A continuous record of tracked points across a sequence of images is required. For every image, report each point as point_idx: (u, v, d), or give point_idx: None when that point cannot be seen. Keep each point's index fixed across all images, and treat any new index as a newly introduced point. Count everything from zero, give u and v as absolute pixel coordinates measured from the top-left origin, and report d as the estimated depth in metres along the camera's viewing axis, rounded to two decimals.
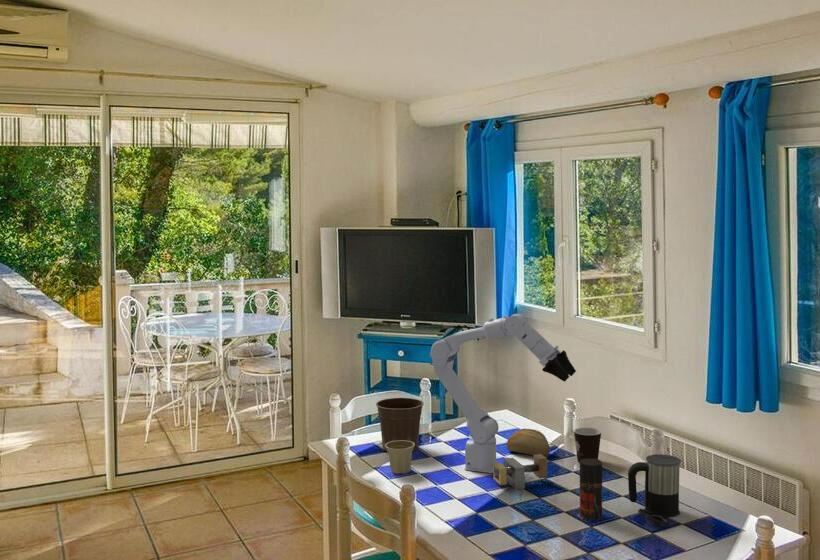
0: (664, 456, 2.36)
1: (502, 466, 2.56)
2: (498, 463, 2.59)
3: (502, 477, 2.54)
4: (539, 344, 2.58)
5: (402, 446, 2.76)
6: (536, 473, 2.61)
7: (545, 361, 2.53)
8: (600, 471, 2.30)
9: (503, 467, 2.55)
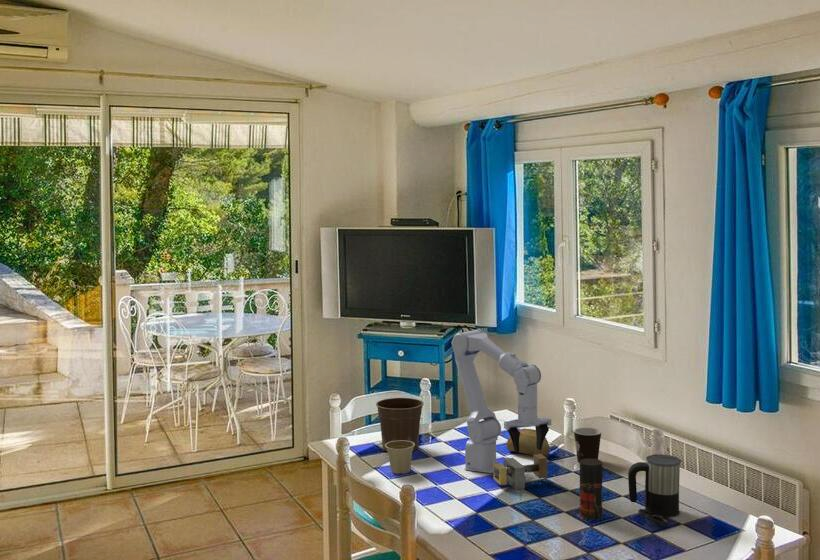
0: (664, 456, 2.36)
1: (502, 466, 2.56)
2: (498, 463, 2.59)
3: (502, 477, 2.54)
4: (521, 410, 2.55)
5: (402, 446, 2.76)
6: (536, 473, 2.61)
7: (505, 427, 2.56)
8: (600, 471, 2.30)
9: (503, 467, 2.55)
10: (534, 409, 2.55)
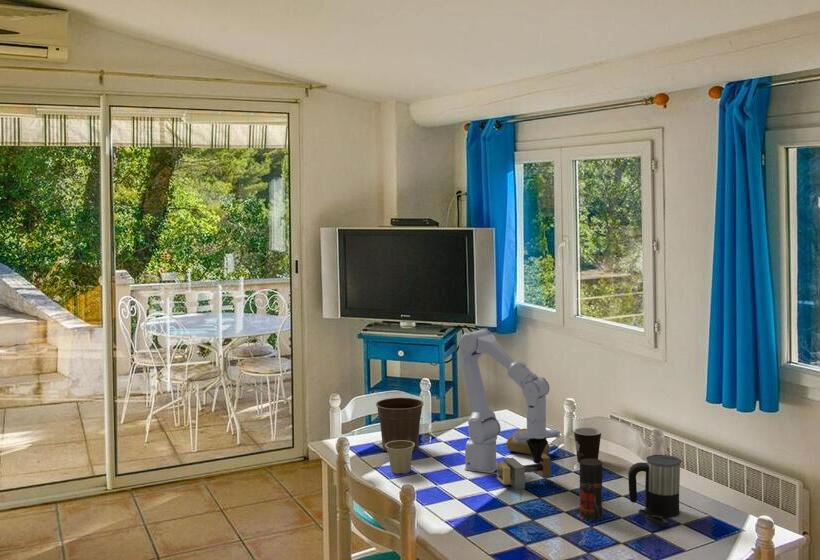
0: (664, 456, 2.36)
1: (506, 466, 2.56)
2: (502, 463, 2.59)
3: (506, 477, 2.55)
4: (530, 422, 2.57)
5: (402, 446, 2.76)
6: (539, 473, 2.61)
7: (514, 440, 2.57)
8: (600, 471, 2.30)
9: (507, 467, 2.55)
10: (543, 422, 2.56)
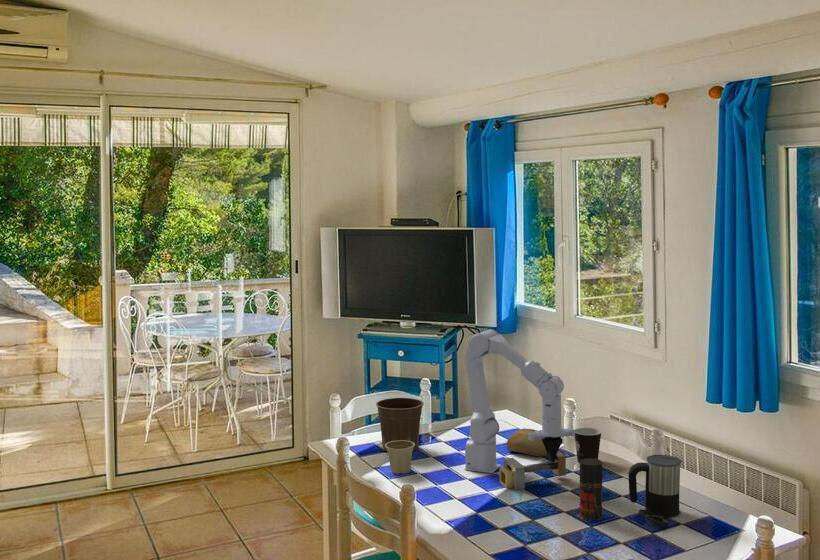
0: (665, 456, 2.36)
1: (508, 469, 2.57)
2: (504, 466, 2.59)
3: (508, 481, 2.55)
4: (545, 421, 2.58)
5: (402, 446, 2.76)
6: (555, 471, 2.62)
7: (530, 438, 2.58)
8: (600, 471, 2.30)
9: (509, 470, 2.56)
10: (558, 420, 2.58)
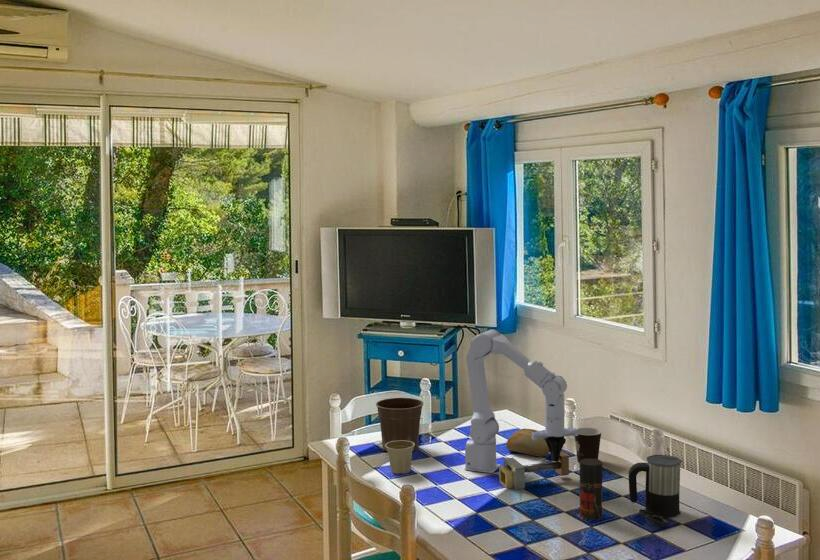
0: (665, 456, 2.36)
1: (508, 469, 2.57)
2: (504, 466, 2.59)
3: (508, 481, 2.55)
4: (549, 420, 2.58)
5: (402, 446, 2.76)
6: (558, 470, 2.62)
7: (533, 438, 2.58)
8: (600, 471, 2.30)
9: (509, 470, 2.56)
10: (561, 420, 2.58)
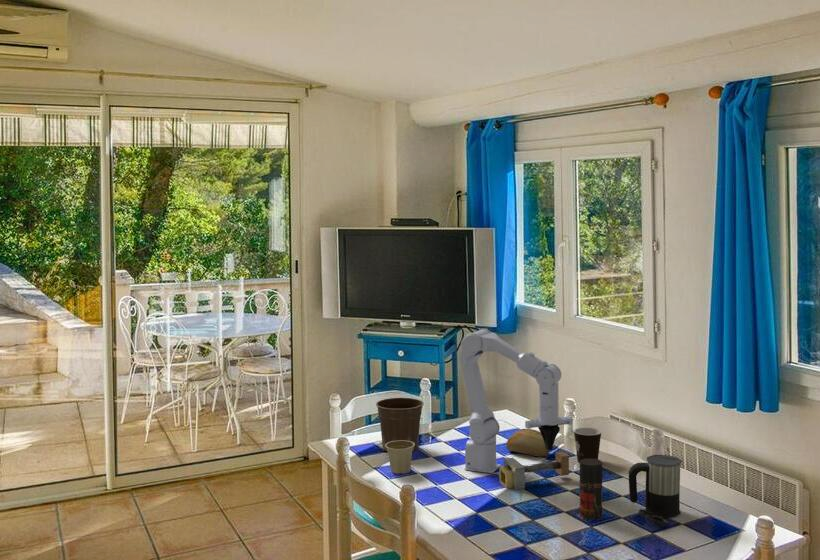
0: (665, 456, 2.35)
1: (508, 469, 2.57)
2: (504, 466, 2.59)
3: (508, 481, 2.55)
4: (543, 409, 2.57)
5: (402, 446, 2.76)
6: (558, 470, 2.62)
7: (527, 426, 2.57)
8: (600, 471, 2.30)
9: (509, 470, 2.56)
10: (555, 408, 2.57)
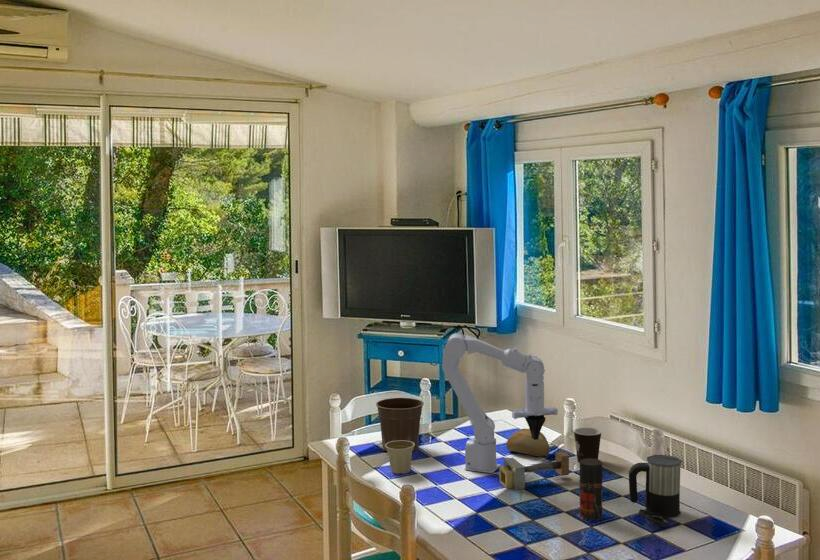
0: (665, 457, 2.35)
1: (508, 469, 2.57)
2: (504, 466, 2.59)
3: (508, 481, 2.55)
4: (529, 400, 2.67)
5: (402, 446, 2.76)
6: (558, 470, 2.62)
7: (513, 416, 2.67)
8: (600, 471, 2.30)
9: (509, 470, 2.56)
10: (541, 399, 2.67)
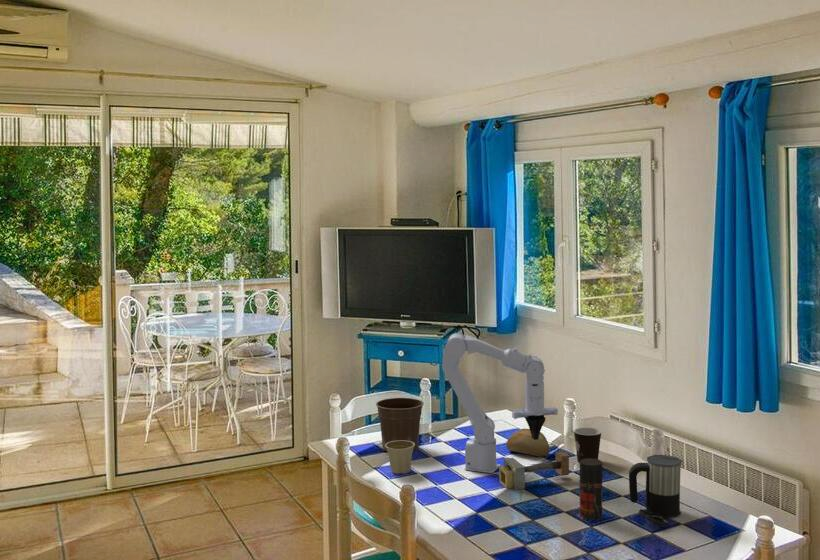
0: (665, 457, 2.35)
1: (508, 469, 2.57)
2: (504, 466, 2.59)
3: (508, 481, 2.55)
4: (529, 400, 2.67)
5: (402, 446, 2.76)
6: (558, 470, 2.62)
7: (513, 416, 2.67)
8: (600, 471, 2.30)
9: (509, 470, 2.56)
10: (541, 399, 2.67)
